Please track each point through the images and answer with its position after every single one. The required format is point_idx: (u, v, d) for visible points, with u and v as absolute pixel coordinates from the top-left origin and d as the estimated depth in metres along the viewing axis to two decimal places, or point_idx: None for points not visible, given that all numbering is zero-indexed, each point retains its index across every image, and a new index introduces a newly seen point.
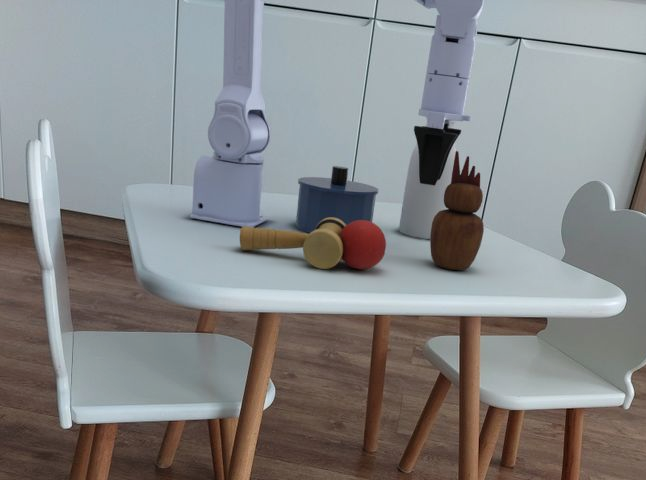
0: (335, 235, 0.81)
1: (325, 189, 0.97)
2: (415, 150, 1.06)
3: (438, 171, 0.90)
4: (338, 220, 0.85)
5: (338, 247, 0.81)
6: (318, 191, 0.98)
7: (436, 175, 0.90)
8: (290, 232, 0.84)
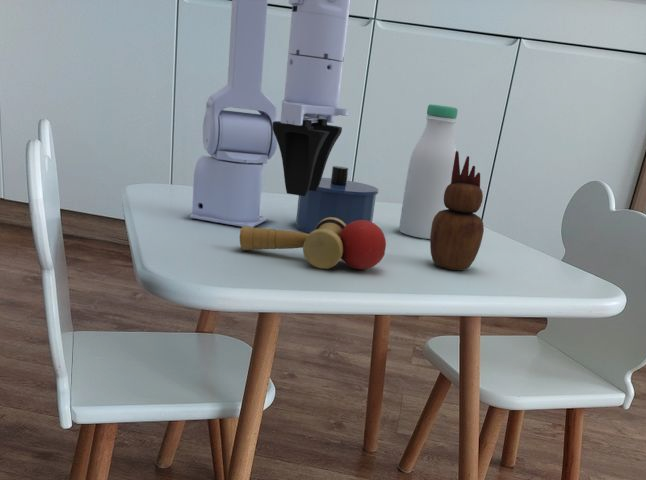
0: (335, 235, 0.81)
1: (325, 189, 0.97)
2: (415, 150, 1.06)
3: (307, 178, 0.71)
4: (338, 220, 0.85)
5: (338, 247, 0.81)
6: (318, 191, 0.98)
7: (305, 183, 0.72)
8: (290, 232, 0.84)
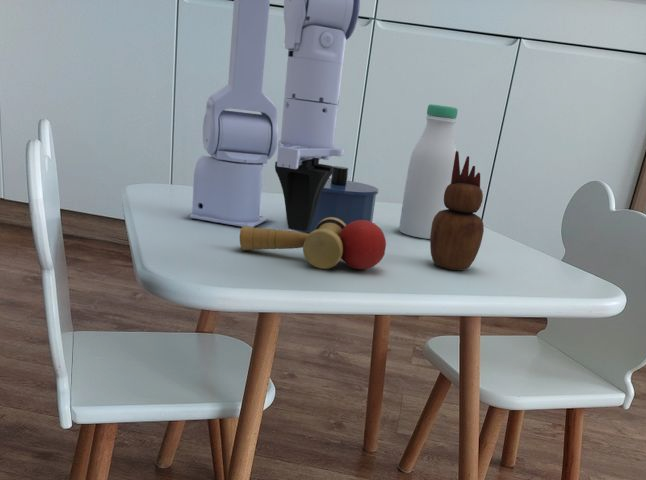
0: (335, 235, 0.81)
1: (325, 189, 0.97)
2: (415, 150, 1.06)
3: (308, 215, 0.75)
4: (338, 220, 0.85)
5: (338, 247, 0.81)
6: None
7: (306, 219, 0.75)
8: (290, 232, 0.84)
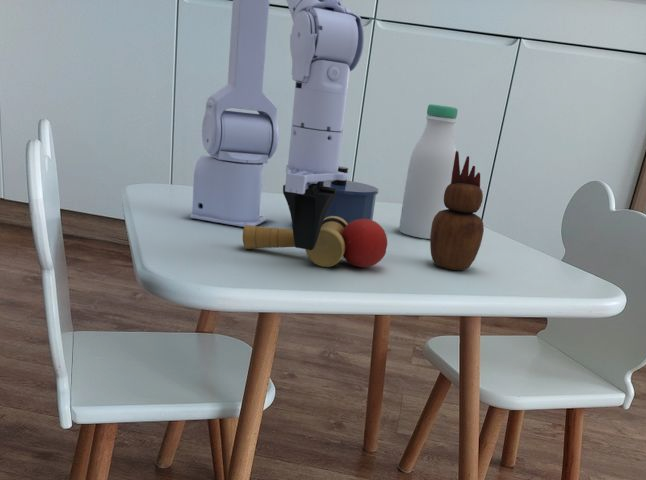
0: (337, 233, 0.82)
1: None
2: (415, 150, 1.06)
3: (314, 234, 0.79)
4: (340, 219, 0.86)
5: (340, 245, 0.82)
6: None
7: (312, 239, 0.80)
8: (292, 231, 0.85)
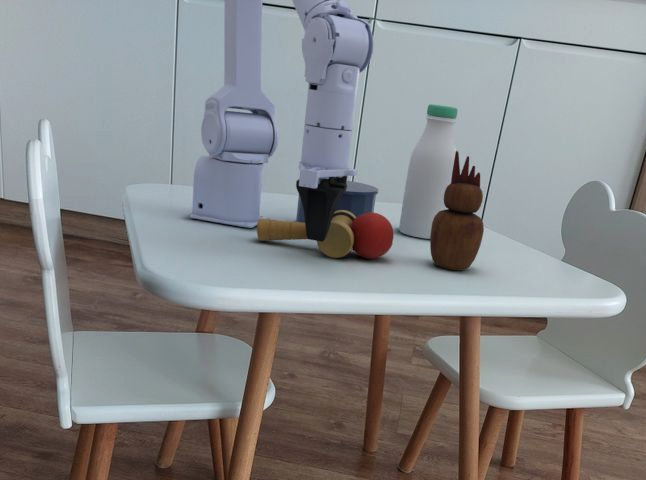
0: (346, 226, 0.87)
1: None
2: (415, 150, 1.06)
3: (325, 227, 0.84)
4: (349, 213, 0.91)
5: (349, 237, 0.87)
6: None
7: (323, 231, 0.85)
8: (304, 224, 0.90)
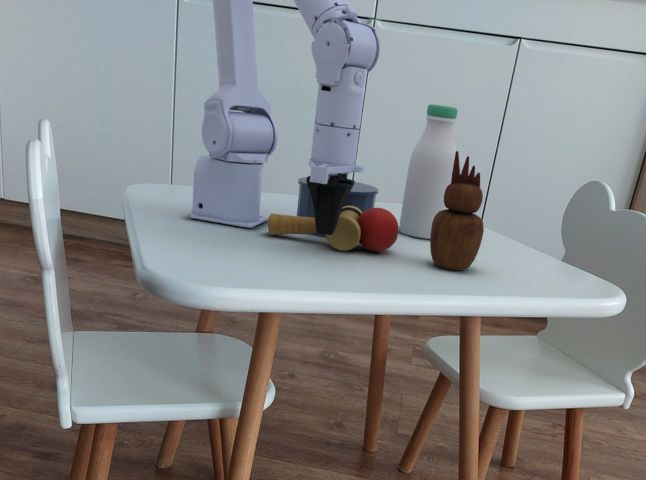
0: (354, 220, 0.91)
1: None
2: (415, 150, 1.06)
3: (333, 221, 0.89)
4: (355, 208, 0.96)
5: (356, 231, 0.91)
6: None
7: (332, 225, 0.89)
8: (313, 218, 0.94)
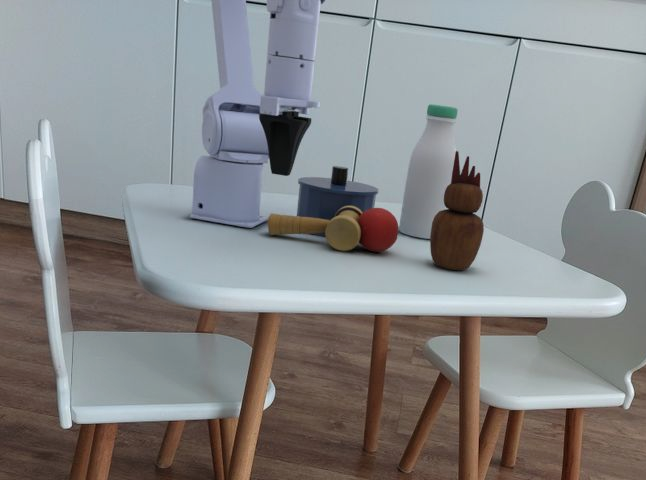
0: (354, 221, 0.91)
1: (325, 189, 0.97)
2: (415, 150, 1.06)
3: (289, 160, 0.85)
4: (355, 208, 0.96)
5: (356, 231, 0.91)
6: (318, 191, 0.98)
7: (287, 165, 0.85)
8: (313, 218, 0.94)
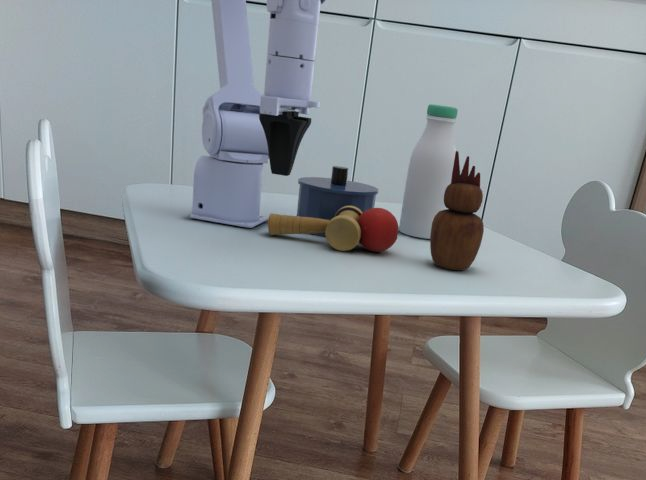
0: (354, 221, 0.91)
1: (325, 189, 0.97)
2: (415, 150, 1.06)
3: (289, 160, 0.85)
4: (355, 208, 0.96)
5: (356, 231, 0.91)
6: (318, 191, 0.98)
7: (287, 165, 0.85)
8: (313, 218, 0.94)
